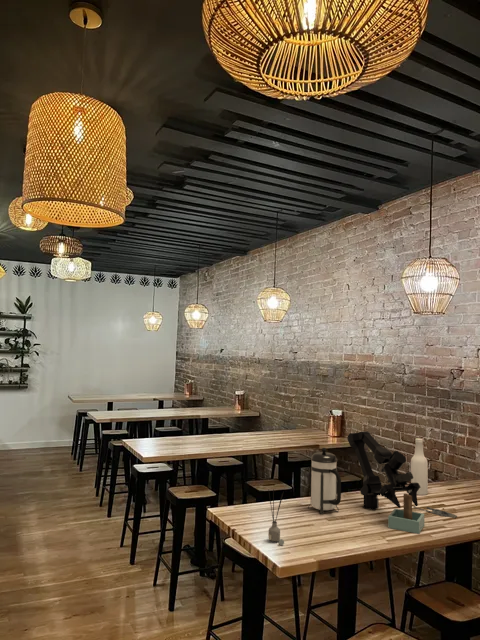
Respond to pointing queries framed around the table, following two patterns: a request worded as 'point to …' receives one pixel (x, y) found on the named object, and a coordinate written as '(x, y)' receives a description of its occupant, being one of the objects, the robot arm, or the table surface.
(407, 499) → the brown tower block
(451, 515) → the driftwood
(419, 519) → the green square tray
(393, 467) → the robot arm
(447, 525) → the table surface
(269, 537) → the reed diffuser
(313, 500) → the coffee press
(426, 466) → the alcohol
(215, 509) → the table surface
